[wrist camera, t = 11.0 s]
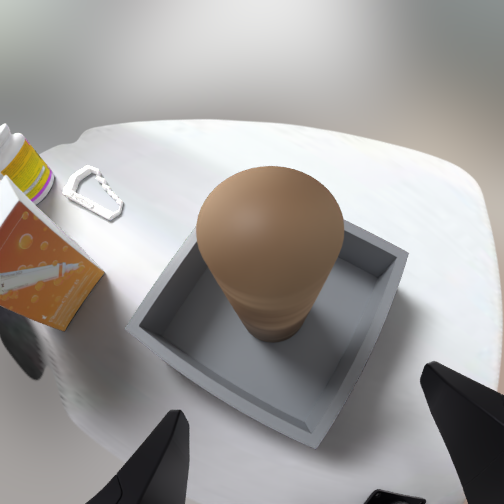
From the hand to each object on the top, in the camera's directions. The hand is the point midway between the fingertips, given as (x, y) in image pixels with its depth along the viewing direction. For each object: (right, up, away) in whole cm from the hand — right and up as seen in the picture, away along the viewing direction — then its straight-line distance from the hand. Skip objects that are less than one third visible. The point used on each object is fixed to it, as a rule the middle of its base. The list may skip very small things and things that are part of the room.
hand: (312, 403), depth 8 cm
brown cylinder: (0, +1, +13) cm, 13 cm away
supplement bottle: (-34, +15, +23) cm, 44 cm away
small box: (-21, +1, +16) cm, 27 cm away
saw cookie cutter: (-22, +12, +22) cm, 33 cm away
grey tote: (0, 0, +14) cm, 13 cm away
